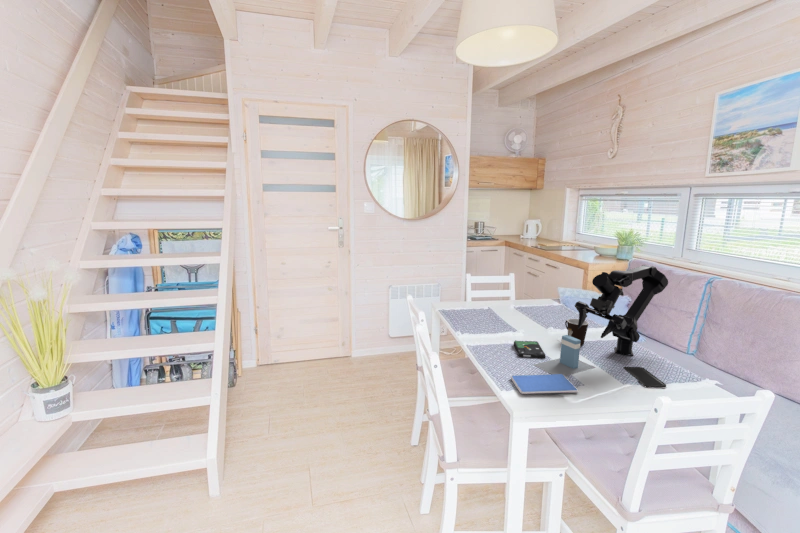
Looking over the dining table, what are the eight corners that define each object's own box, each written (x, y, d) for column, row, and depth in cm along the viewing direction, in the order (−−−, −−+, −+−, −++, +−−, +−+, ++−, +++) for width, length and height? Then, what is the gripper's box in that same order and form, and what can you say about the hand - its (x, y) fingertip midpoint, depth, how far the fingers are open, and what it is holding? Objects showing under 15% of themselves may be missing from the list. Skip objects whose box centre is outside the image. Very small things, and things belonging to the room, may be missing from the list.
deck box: (564, 361, 155) (566, 334, 153) (578, 367, 150) (580, 340, 148) (559, 362, 154) (562, 335, 152) (573, 368, 149) (575, 341, 147)
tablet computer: (562, 376, 142) (563, 373, 142) (579, 393, 130) (579, 390, 129) (509, 378, 142) (509, 375, 141) (521, 396, 129) (521, 392, 129)
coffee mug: (588, 347, 171) (590, 325, 169) (567, 345, 173) (569, 324, 171) (582, 338, 182) (584, 317, 181) (562, 336, 184) (564, 316, 182)
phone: (642, 367, 150) (667, 385, 136) (642, 369, 151) (667, 388, 136) (621, 366, 151) (644, 385, 136) (621, 369, 151) (644, 388, 136)
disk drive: (545, 361, 158) (536, 346, 173) (546, 354, 158) (537, 340, 172) (519, 359, 159) (512, 345, 174) (519, 353, 159) (513, 339, 173)
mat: (569, 357, 161) (569, 355, 161) (595, 368, 150) (595, 367, 150) (533, 366, 152) (533, 364, 152) (557, 379, 141) (557, 377, 141)
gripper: (580, 282, 157) (561, 316, 155) (628, 298, 143) (608, 335, 141) (587, 294, 164) (569, 326, 163) (634, 310, 151) (615, 345, 149)
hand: (589, 332), depth 154 cm, fingers open, 9 cm apart
